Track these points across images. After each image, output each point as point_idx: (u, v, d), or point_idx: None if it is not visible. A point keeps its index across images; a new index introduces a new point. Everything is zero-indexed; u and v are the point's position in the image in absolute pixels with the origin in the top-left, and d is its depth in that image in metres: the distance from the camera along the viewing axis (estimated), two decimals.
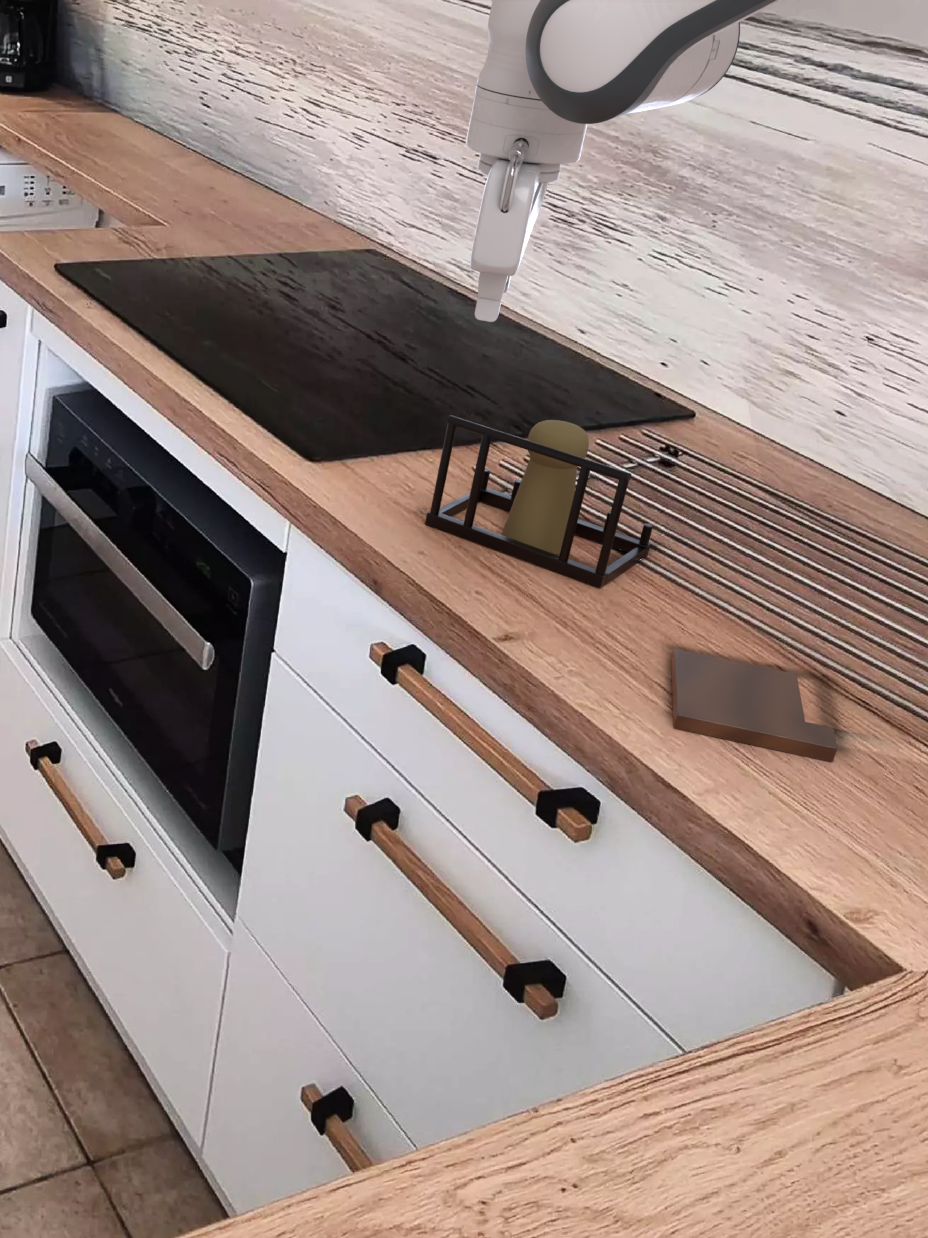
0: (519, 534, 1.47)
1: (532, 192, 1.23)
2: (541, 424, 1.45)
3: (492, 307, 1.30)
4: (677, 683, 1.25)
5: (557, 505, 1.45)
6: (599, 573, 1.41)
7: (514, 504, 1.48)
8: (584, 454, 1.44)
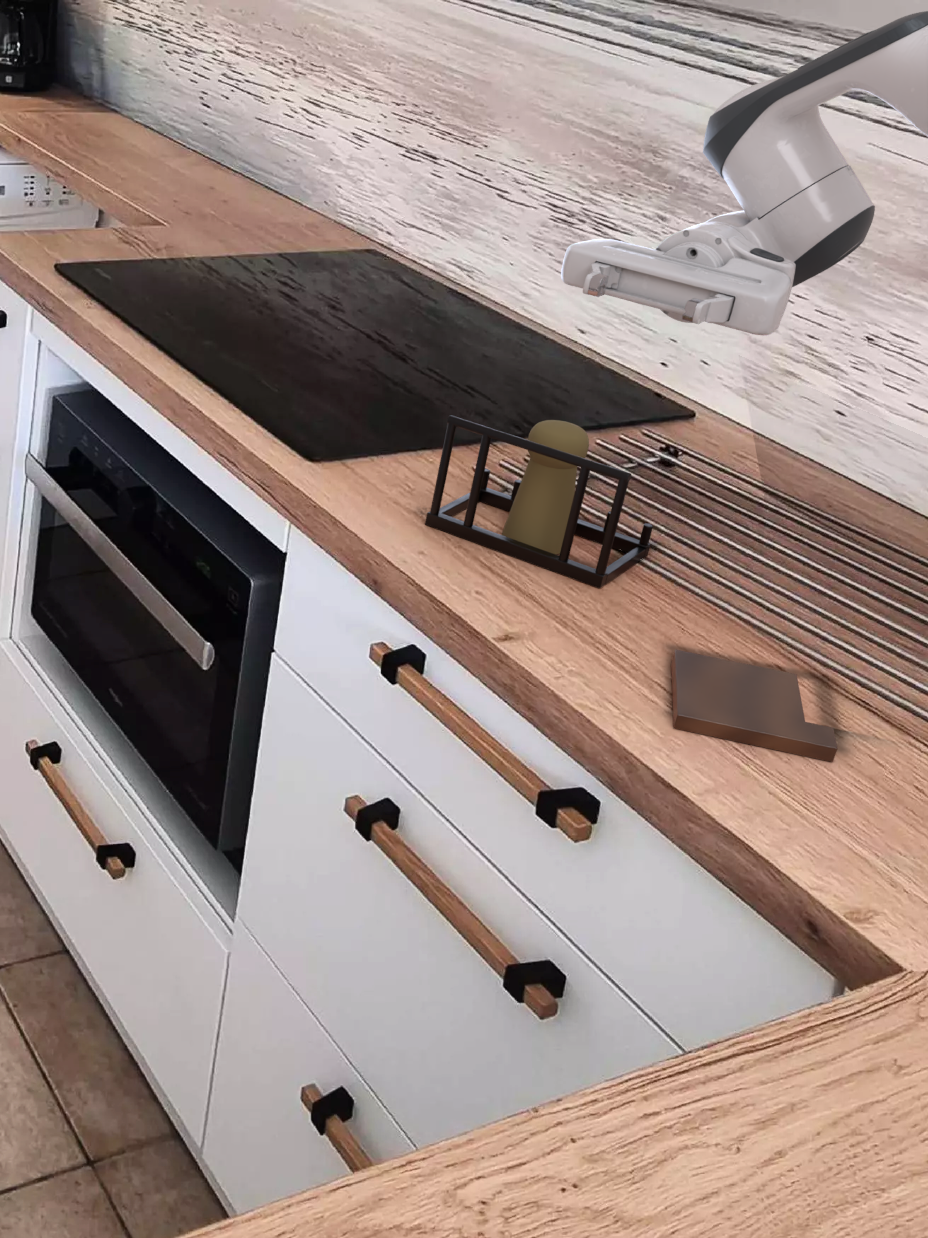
0: (519, 534, 1.47)
1: None
2: (541, 424, 1.45)
3: None
4: (677, 683, 1.25)
5: (557, 505, 1.45)
6: (599, 573, 1.41)
7: (514, 504, 1.48)
8: (584, 454, 1.44)
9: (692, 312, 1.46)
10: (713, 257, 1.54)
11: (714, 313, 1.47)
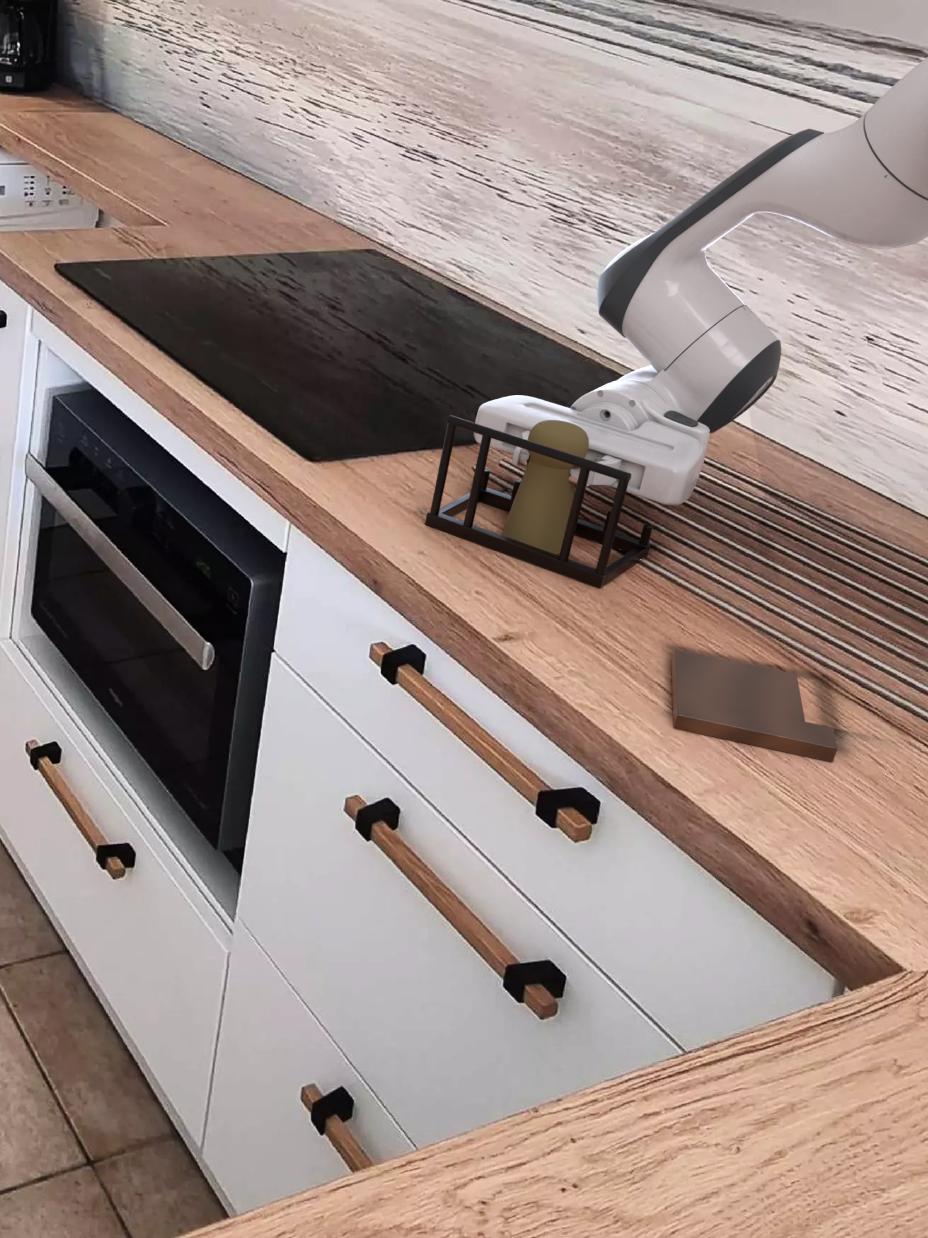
0: (519, 534, 1.47)
1: (517, 395, 1.57)
2: (541, 424, 1.45)
3: None
4: (677, 683, 1.25)
5: (557, 505, 1.45)
6: (599, 573, 1.41)
7: (514, 504, 1.48)
8: (584, 454, 1.44)
9: (577, 476, 1.44)
10: (626, 420, 1.51)
11: (601, 476, 1.45)
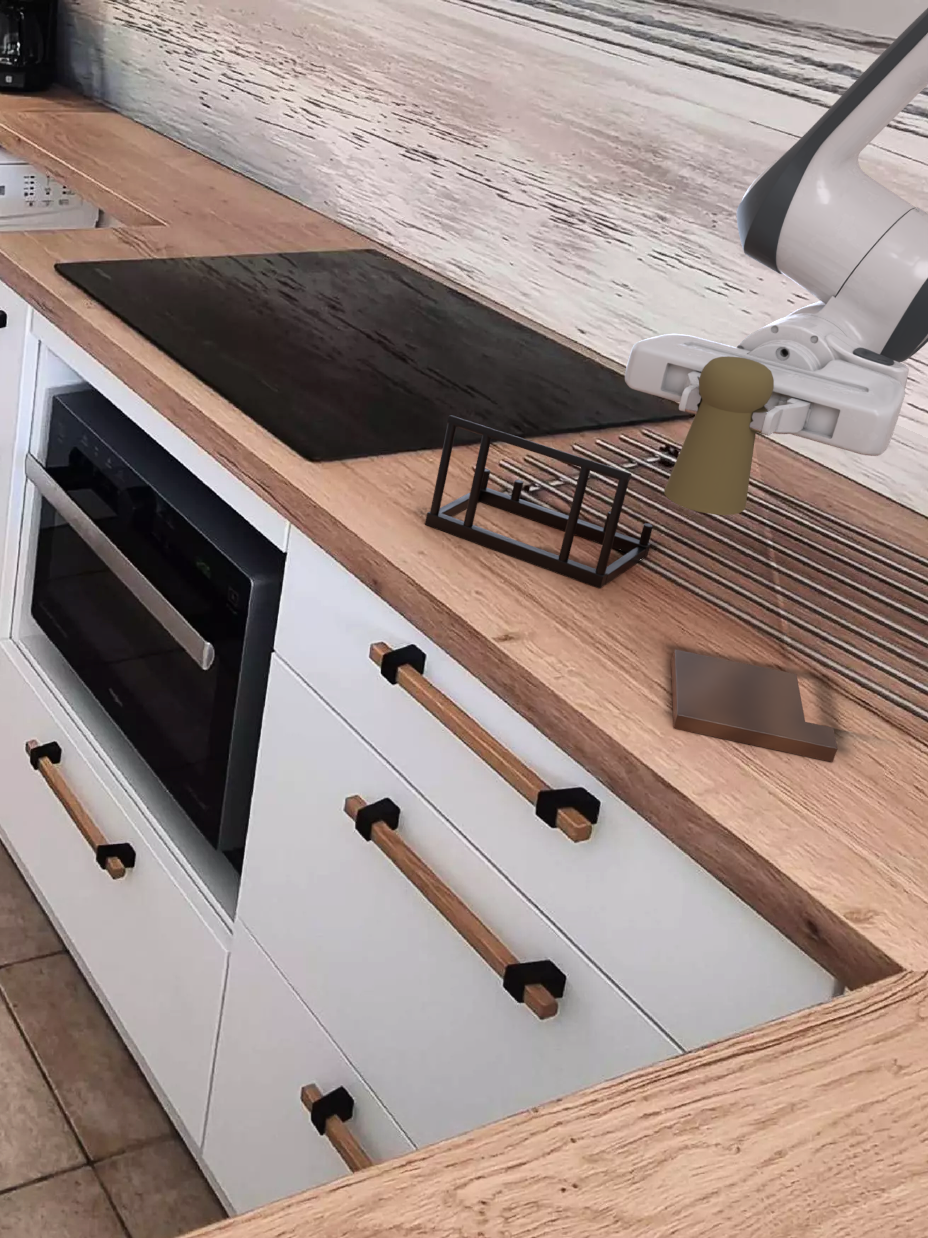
0: (688, 492, 1.25)
1: (672, 334, 1.35)
2: (717, 361, 1.23)
3: None
4: (677, 683, 1.25)
5: (735, 456, 1.24)
6: (599, 573, 1.41)
7: (681, 456, 1.26)
8: (769, 395, 1.22)
9: (761, 421, 1.22)
10: (808, 359, 1.29)
11: (787, 422, 1.23)
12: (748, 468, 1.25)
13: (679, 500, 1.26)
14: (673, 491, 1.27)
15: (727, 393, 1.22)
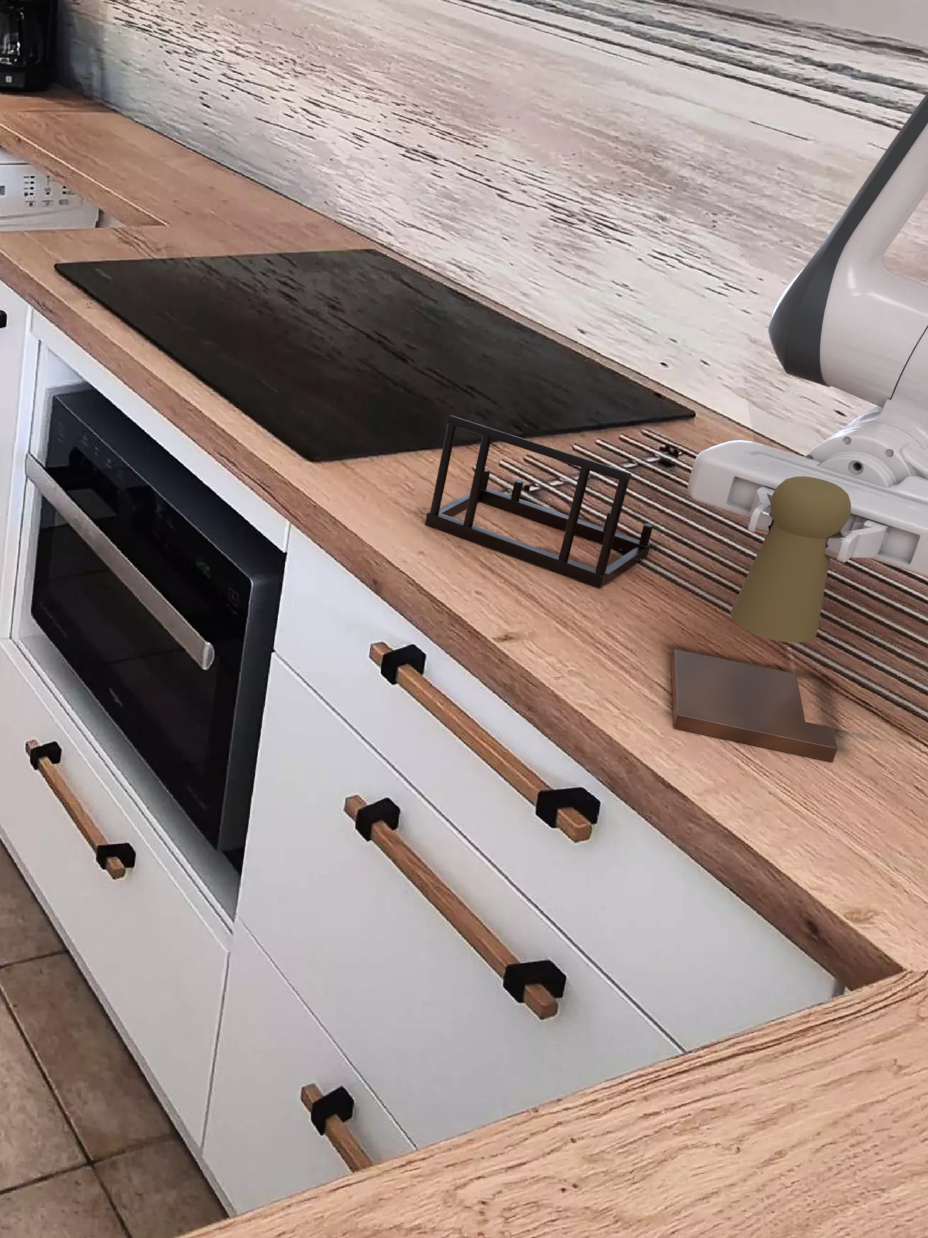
0: (757, 617, 1.19)
1: (737, 440, 1.29)
2: (791, 483, 1.16)
3: None
4: (677, 683, 1.25)
5: (809, 582, 1.17)
6: (599, 573, 1.41)
7: (750, 579, 1.20)
8: (846, 520, 1.16)
9: (837, 548, 1.16)
10: (883, 474, 1.23)
11: (863, 547, 1.17)
12: (821, 594, 1.18)
13: (747, 625, 1.20)
14: (741, 615, 1.20)
15: (802, 518, 1.15)
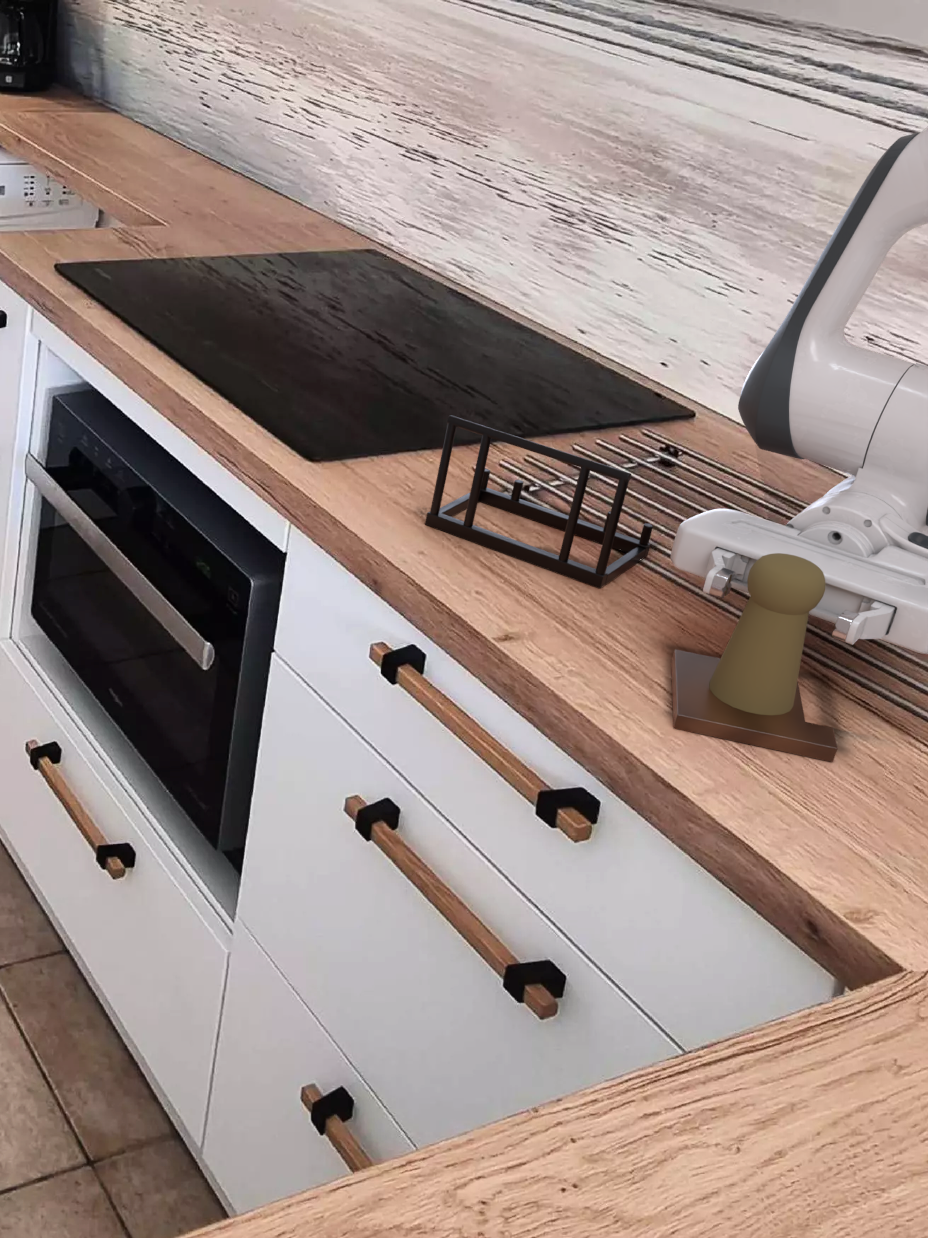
0: (735, 690, 1.22)
1: (719, 509, 1.31)
2: (767, 560, 1.19)
3: None
4: (677, 683, 1.25)
5: (785, 657, 1.20)
6: (599, 573, 1.41)
7: (728, 653, 1.23)
8: (820, 597, 1.18)
9: (845, 630, 1.17)
10: (861, 544, 1.25)
11: (871, 629, 1.18)
12: (797, 668, 1.21)
13: (725, 698, 1.22)
14: (719, 688, 1.23)
15: (778, 596, 1.18)
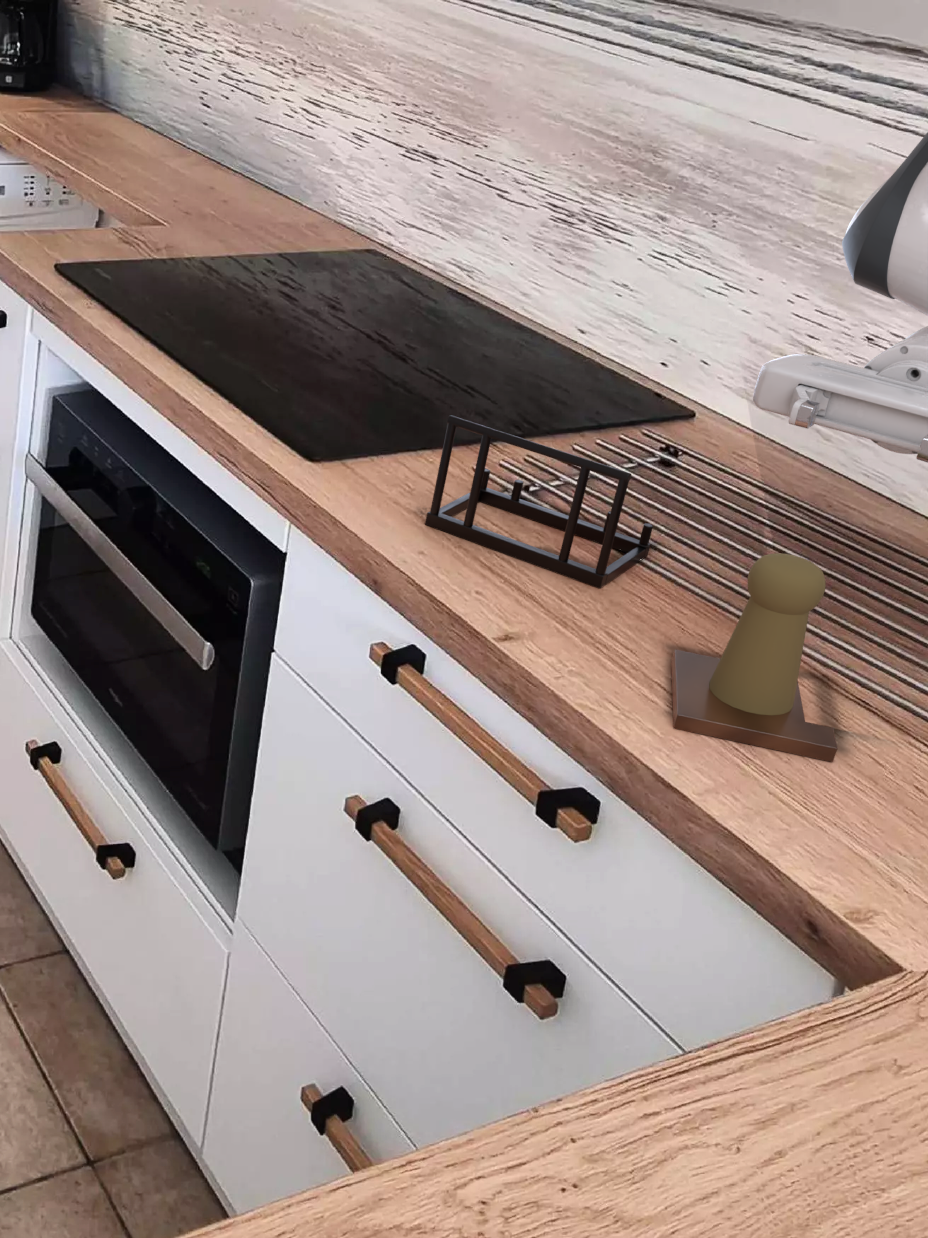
0: (735, 690, 1.22)
1: (798, 354, 1.36)
2: (767, 560, 1.19)
3: None
4: (677, 683, 1.25)
5: (785, 657, 1.20)
6: (599, 573, 1.41)
7: (728, 653, 1.23)
8: (820, 597, 1.18)
9: None
10: None
11: None
12: (797, 668, 1.21)
13: (725, 698, 1.22)
14: (719, 688, 1.23)
15: (778, 595, 1.18)
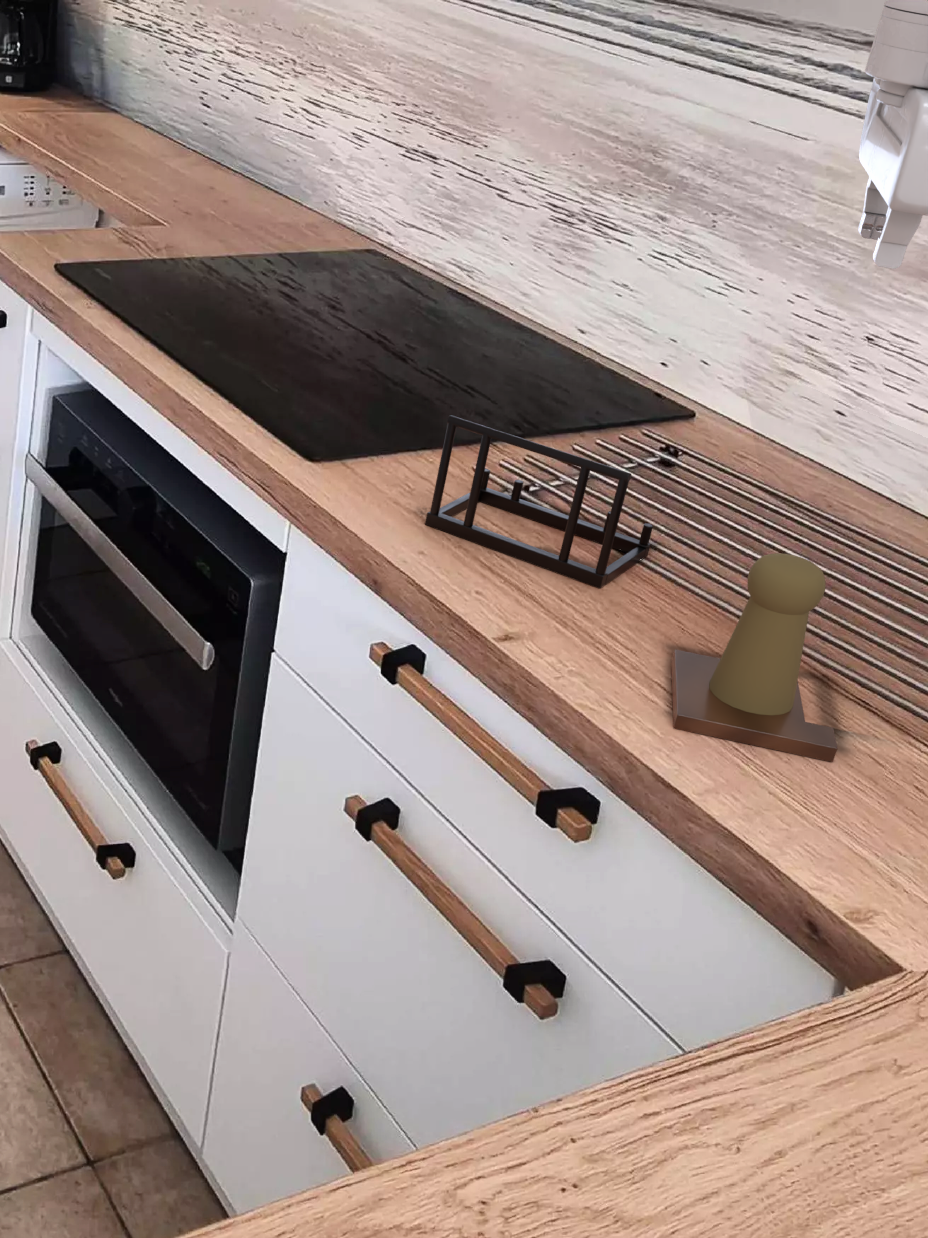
0: (735, 690, 1.22)
1: None
2: (767, 560, 1.19)
3: (896, 252, 1.19)
4: (677, 683, 1.25)
5: (785, 657, 1.20)
6: (599, 573, 1.41)
7: (728, 653, 1.23)
8: (820, 597, 1.18)
9: None
10: None
11: None
12: (797, 668, 1.21)
13: (725, 698, 1.22)
14: (719, 688, 1.23)
15: (778, 595, 1.18)
